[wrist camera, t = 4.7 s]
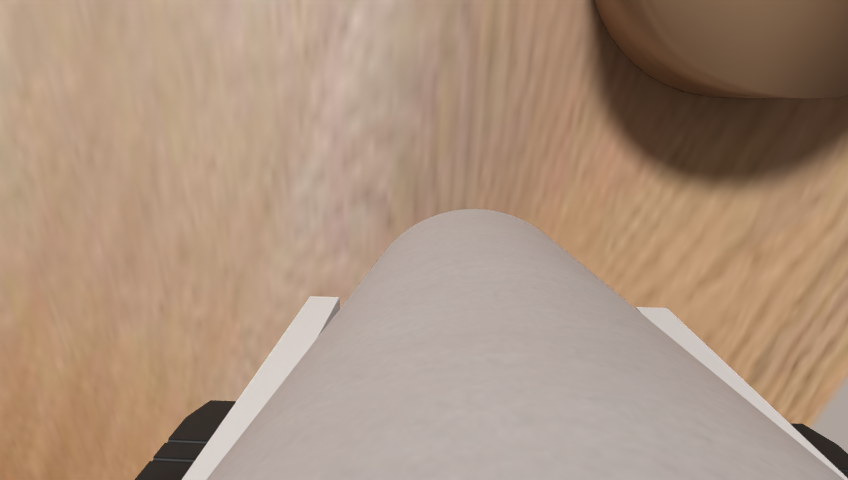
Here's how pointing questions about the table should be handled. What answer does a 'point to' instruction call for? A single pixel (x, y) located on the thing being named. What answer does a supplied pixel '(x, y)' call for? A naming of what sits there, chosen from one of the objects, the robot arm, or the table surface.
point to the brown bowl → (736, 45)
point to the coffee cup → (503, 378)
